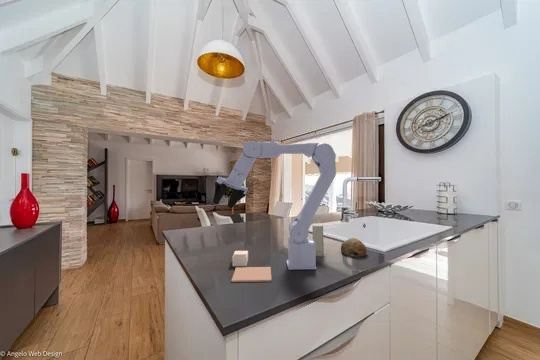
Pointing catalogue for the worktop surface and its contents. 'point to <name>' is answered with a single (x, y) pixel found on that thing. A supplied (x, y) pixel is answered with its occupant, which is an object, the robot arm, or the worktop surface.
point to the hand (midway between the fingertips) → (222, 205)
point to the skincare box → (318, 239)
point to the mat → (252, 274)
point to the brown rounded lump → (353, 248)
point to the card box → (240, 258)
